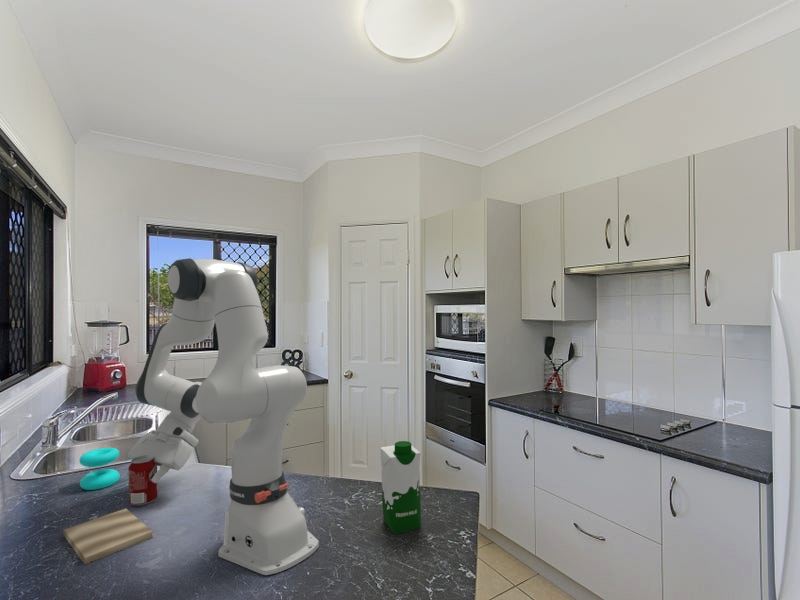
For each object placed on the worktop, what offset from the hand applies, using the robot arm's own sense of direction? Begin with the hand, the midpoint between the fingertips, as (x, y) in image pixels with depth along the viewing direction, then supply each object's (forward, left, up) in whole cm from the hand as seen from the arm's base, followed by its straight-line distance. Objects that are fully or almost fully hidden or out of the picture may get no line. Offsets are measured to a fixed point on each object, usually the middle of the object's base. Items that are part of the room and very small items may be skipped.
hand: (141, 479), depth 118 cm
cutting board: (-13, +11, -6) cm, 18 cm away
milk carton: (-64, -36, -7) cm, 73 cm away
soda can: (0, -1, -7) cm, 7 cm away
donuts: (+24, +3, -7) cm, 25 cm away
